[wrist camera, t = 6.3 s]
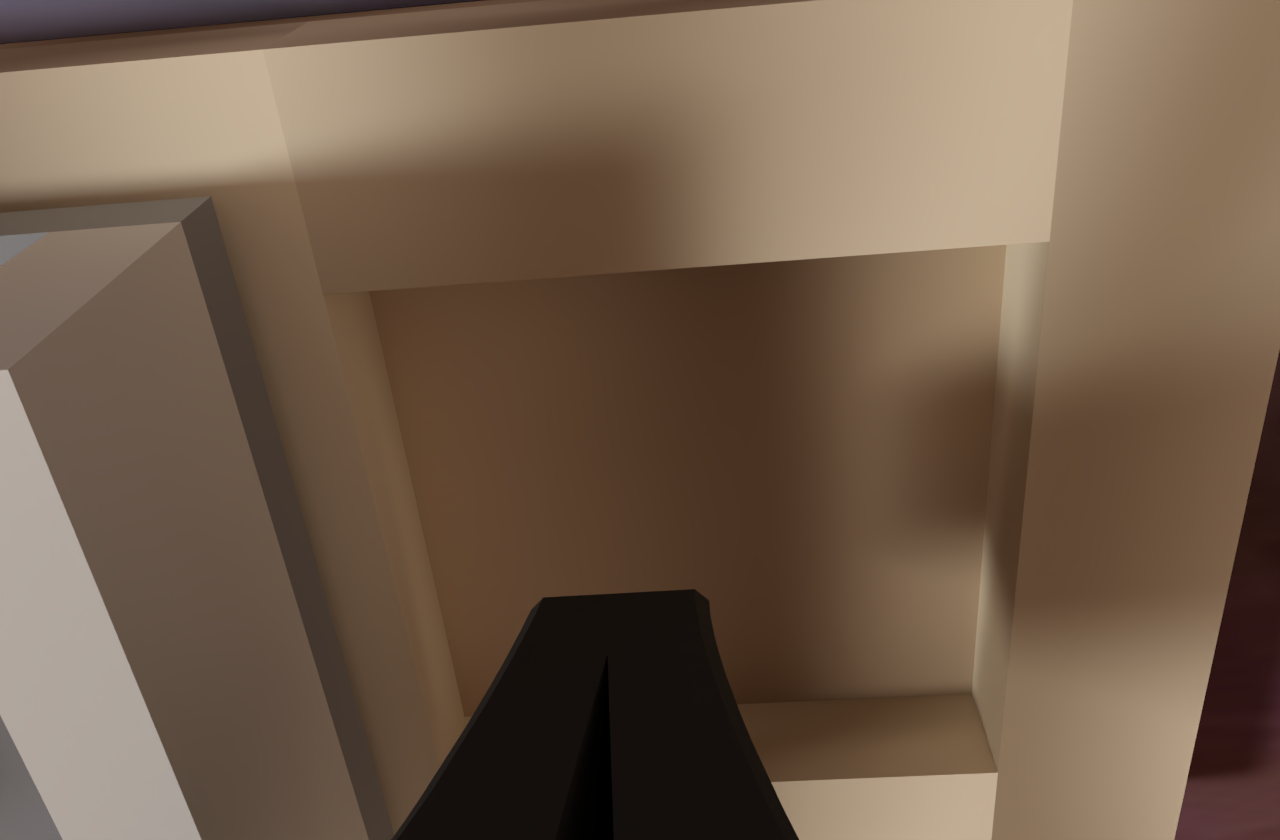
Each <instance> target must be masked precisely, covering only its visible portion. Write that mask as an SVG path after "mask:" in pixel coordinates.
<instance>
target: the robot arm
mask: <svg viewBox="0 0 1280 840" xmlns="http://www.w3.org/2000/svg"><path fill="white" fill-rule="evenodd" d="M391 840H799V838H798V836H797V834H796V832H795V830H794V828H793V826H792V824H791V823H790V821H789V819H788V817H787V815H786V813H785V811H784V809H783V807H782V805H781V803H780V800H779V798H778V796H777V794H776V792H775V790H774V787H773V785H772V783H771V781H770V779H769V777H768V775H767V772H766V770H765V768H764V766H763V764H762V762H761V760H760V757H759V755H758V753H757V751H756V749H755V747H754V744H753V742H752V740H751V738H750V735H749V733H748V731H747V728H746V726H745V723H744V721H743V719H742V716H741V714H740V711H739V709H738V706H737V703H736V700H735V698H734V695H733V692H732V690H731V687H730V684H729V681H728V679H727V676H726V673H725V670H724V667H723V664H722V660H721V657H720V654H719V651H718V647H717V643H716V640H715V636H714V631H713V626H712V621H711V615H710V605H709V600H708V599H707V598H705V597H704V596H703V595H702V594H700V593H699V592H698V591H696V590H695V589H687V590H669V591H651V592H633V593H614V594H596V595H578V596H560V597H543V598H542V599H541V600H540V601H539V602H538V603H537V604H536V605H535V606H534V607H533V608H532V609H531V611H530V613H529V615H528V617H527V619H526V621H525V623H524V625H523V627H522V629H521V631H520V633H519V635H518V636H517V638H516V640H515V642H514V644H513V646H512V648H511V650H510V651H509V653H508V655H507V657H506V659H505V661H504V662H503V664H502V666H501V668H500V669H499V671H498V673H497V675H496V677H495V678H494V680H493V682H492V684H491V685H490V687H489V689H488V690H487V692H486V694H485V695H484V697H483V699H482V700H481V702H480V704H479V706H478V707H477V709H476V711H475V712H474V714H473V716H472V717H471V719H470V721H469V722H468V724H467V726H466V727H465V729H464V730H463V732H462V733H461V735H460V737H459V738H458V740H457V741H456V743H455V744H454V746H453V748H452V749H451V751H450V752H449V754H448V755H447V757H446V758H445V760H444V762H443V763H442V765H441V766H440V768H439V769H438V771H437V772H436V774H435V776H434V777H433V779H432V780H431V782H430V783H429V785H428V787H427V788H426V790H425V791H424V793H423V794H422V796H421V797H420V799H419V800H418V802H417V803H416V805H415V806H414V808H413V809H412V811H411V812H410V814H409V815H408V817H407V818H406V820H405V821H404V822H403V824H402V825H401V827H400V828H399V829H398V831H397V832H396V834H395V835H394V836H393V838H392V839H391Z"/></svg>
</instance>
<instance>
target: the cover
mask: <svg viewBox="0 0 1280 840" xmlns="http://www.w3.org/2000/svg"><path fill="white" fill-rule="evenodd" d="M393 836H394V832H393V829H392V826H391V822H390V819H389V815H388V812H387V808H386V805H385V801H384V798H383V794H382V791H381V787H380V784H379V780H378V777H377V773H376V770H375V766H374V763H373V759H372V756H371V752H370V749H369V745H368V742H367V738H366V735H365V731H364V728H363V724H362V721H361V717H360V714H359V710H358V707H357V703H356V700H355V697H354V693H353V690H352V686H351V683H350V679H349V676H348V672H347V669H346V665H345V662H344V658H343V655H342V651H341V648H340V644H339V641H338V637H337V634H336V630H335V627H334V623H333V620H332V616H331V613H330V609H329V606H328V602H327V599H326V595H325V592H324V588H323V585H322V581H321V578H320V574H319V571H318V568H317V564H316V561H315V557H314V554H313V550H312V547H311V543H310V540H309V536H308V533H307V529H306V526H305V522H304V519H303V515H302V512H301V508H300V505H299V501H298V498H297V494H296V491H295V487H294V484H293V480H292V477H291V473H290V470H289V466H288V463H287V459H286V456H285V452H284V449H283V445H282V442H281V439H280V435H279V432H278V428H277V425H276V421H275V418H274V414H273V411H272V407H271V404H270V400H269V397H268V393H267V390H266V386H265V383H264V379H263V376H262V372H261V369H260V365H259V362H258V358H257V355H256V351H255V348H254V344H253V341H252V337H251V334H250V330H249V327H248V323H247V320H246V317H245V313H244V310H243V306H242V303H241V299H240V296H239V292H238V289H237V285H236V282H235V278H234V275H233V271H232V268H231V264H230V261H229V257H228V254H227V250H226V247H225V243H224V240H223V236H222V233H221V229H220V226H219V222H218V219H217V215H216V212H215V208H214V205H213V201H212V198H211V196H206V197H193V198H181V199H168V200H156V201H143V202H130V203H118V204H105V205H93V206H80V207H68V208H55V209H43V210H30V211H17V212H5V213H0V840H391V839H392V838H393Z"/></svg>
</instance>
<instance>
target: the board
mask: <svg viewBox="0 0 1280 840" xmlns="http://www.w3.org/2000/svg"><path fill="white" fill-rule="evenodd" d="M206 196H211V198H212V201H213V205H214V208H215V212H216V215H217V219H218V222H219V226H220V229H221V233H222V236H223V240H224V243H225V247H226V250H227V254H228V257H229V261H230V264H231V268H232V271H233V275H234V278H235V282H236V285H237V289H238V292H239V296H240V299H241V303H242V306H243V310H244V313H245V317H246V320H247V323H248V327H249V330H250V334H251V337H252V341H253V344H254V348H255V351H256V355H257V358H258V362H259V365H260V369H261V372H262V376H263V379H264V383H265V386H266V390H267V393H268V397H269V400H270V404H271V407H272V411H273V414H274V418H275V421H276V425H277V428H278V432H279V435H280V439H281V442H282V445H283V449H284V452H285V456H286V459H287V463H288V466H289V470H290V473H291V477H292V480H293V484H294V487H295V491H296V494H297V498H298V501H299V505H300V508H301V512H302V515H303V519H304V522H305V526H306V529H307V533H308V536H309V540H310V543H311V547H312V550H313V554H314V557H315V561H316V564H317V568H318V571H319V574H320V578H321V581H322V585H323V588H324V592H325V595H326V599H327V602H328V606H329V609H330V613H331V616H332V620H333V623H334V627H335V630H336V634H337V637H338V641H339V644H340V648H341V651H342V655H343V658H344V662H345V665H346V669H347V672H348V676H349V679H350V683H351V686H352V690H353V693H354V697H355V700H356V703H357V707H358V710H359V714H360V717H361V721H362V724H363V728H364V731H365V735H366V738H367V742H368V745H369V749H370V752H371V756H372V759H373V763H374V766H375V770H376V773H377V777H378V780H379V784H380V787H381V791H382V794H383V798H384V801H385V805H386V808H387V812H388V815H389V819H390V822H391V826H392V829H393V832H394V835H395V834H396V832H397V831H398V829H399V828H400V827H401V825H402V824H403V822H404V821H405V820H406V818H407V817H408V815H409V814H410V812H411V811H412V809H413V808H414V806H415V805H416V803H417V802H418V800H419V799H420V797H421V796H422V794H423V793H424V791H425V790H426V788H427V787H428V785H429V783H430V782H431V780H432V779H433V777H434V776H435V774H436V772H437V771H438V769H439V768H440V766H441V765H442V763H443V762H444V760H445V758H446V757H447V755H448V754H449V752H450V751H451V749H452V748H453V746H454V744H455V743H456V741H457V740H458V738H459V737H460V735H461V733H462V732H463V730H464V729H465V727H466V726H467V724H468V722H469V721H470V719H471V717H472V716H473V714H474V712H475V711H476V709H477V707H478V706H479V704H480V702H481V700H482V699H483V697H484V695H485V694H486V692H487V690H488V689H489V687H490V685H491V684H492V682H493V680H494V678H495V677H496V675H497V673H498V671H499V669H500V668H501V666H502V664H503V662H504V661H505V659H506V657H507V655H508V653H509V651H510V650H511V648H512V646H513V644H514V642H515V640H516V638H517V636H518V635H519V633H520V631H521V629H522V627H523V625H524V623H525V621H526V619H527V617H528V615H529V613H530V611H531V609H532V608H533V607H534V606H535V605H536V604H537V603H538V602H539V601H540V600H541V599H542V598H543V597H560V596H578V595H596V594H614V593H633V592H651V591H669V590H687V589H695V590H696V591H698V592H699V593H700V594H702V595H703V596H704V597H705V598H707V599H708V600H709V605H710V615H711V621H712V626H713V631H714V636H715V640H716V643H717V647H718V651H719V654H720V657H721V660H722V664H723V667H724V670H725V673H726V676H727V679H728V681H729V684H730V687H731V690H732V692H733V695H734V698H735V700H736V703H737V706H738V709H739V711H740V714H741V716H742V719H743V721H744V723H745V726H746V728H747V731H748V733H749V735H750V738H751V740H752V742H753V744H754V747H755V749H756V751H757V753H758V755H759V757H760V760H761V762H762V764H763V766H764V768H765V770H766V772H767V775H768V777H769V779H770V781H771V783H772V785H773V787H774V790H775V792H776V794H777V796H778V798H779V800H780V803H781V805H782V807H783V809H784V811H785V813H786V815H787V817H788V819H789V821H790V823H791V824H792V826H793V828H794V830H795V832H796V834H797V836H798V838H799V840H1174V838H1175V833H1176V829H1177V824H1178V819H1179V815H1180V810H1181V805H1182V801H1183V796H1184V792H1185V787H1186V782H1187V778H1188V773H1189V768H1190V764H1191V759H1192V754H1193V750H1194V745H1195V740H1196V736H1197V731H1198V726H1199V722H1200V717H1201V712H1202V708H1203V703H1204V699H1205V694H1206V689H1207V685H1208V680H1209V675H1210V671H1211V666H1212V661H1213V657H1214V652H1215V647H1216V643H1217V638H1218V633H1219V629H1220V624H1221V619H1222V615H1223V610H1224V606H1225V601H1226V596H1227V592H1228V587H1229V582H1230V578H1231V573H1232V568H1233V564H1234V559H1235V554H1236V550H1237V545H1238V540H1239V536H1240V531H1241V526H1242V522H1243V517H1244V513H1245V508H1246V503H1247V499H1248V494H1249V489H1250V485H1251V480H1252V475H1253V471H1254V466H1255V461H1256V457H1257V452H1258V447H1259V443H1260V438H1261V433H1262V429H1263V424H1264V420H1265V415H1266V410H1267V406H1268V401H1269V396H1270V392H1271V387H1272V382H1273V378H1274V373H1275V368H1276V364H1277V359H1278V354H1279V350H1280V0H485V1H474V2H463V3H452V4H440V5H429V6H418V7H407V8H396V9H385V10H374V11H363V12H352V13H341V14H330V15H319V16H308V17H297V18H286V19H275V20H264V21H252V22H241V23H230V24H219V25H208V26H197V27H186V28H175V29H164V30H153V31H142V32H131V33H120V34H109V35H98V36H87V37H76V38H65V39H53V40H42V41H31V42H20V43H9V44H0V213H5V212H17V211H30V210H43V209H55V208H68V207H80V206H93V205H105V204H118V203H130V202H143V201H156V200H168V199H181V198H193V197H206Z"/></svg>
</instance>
